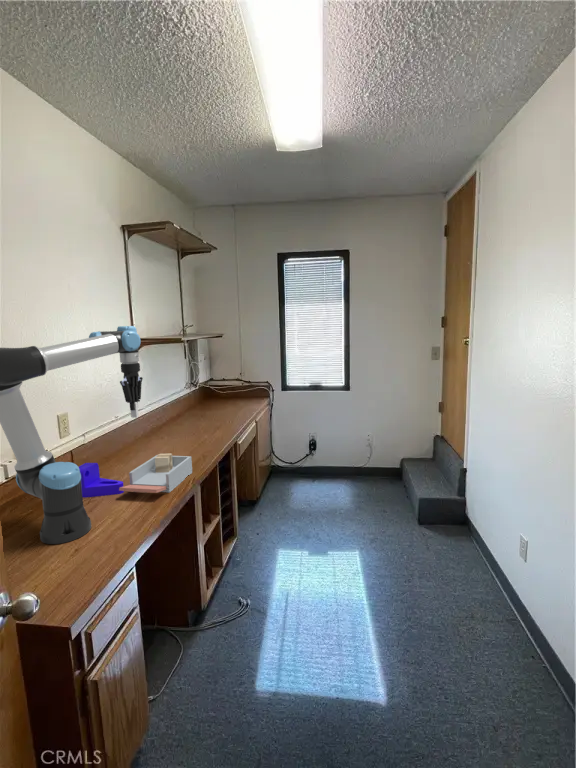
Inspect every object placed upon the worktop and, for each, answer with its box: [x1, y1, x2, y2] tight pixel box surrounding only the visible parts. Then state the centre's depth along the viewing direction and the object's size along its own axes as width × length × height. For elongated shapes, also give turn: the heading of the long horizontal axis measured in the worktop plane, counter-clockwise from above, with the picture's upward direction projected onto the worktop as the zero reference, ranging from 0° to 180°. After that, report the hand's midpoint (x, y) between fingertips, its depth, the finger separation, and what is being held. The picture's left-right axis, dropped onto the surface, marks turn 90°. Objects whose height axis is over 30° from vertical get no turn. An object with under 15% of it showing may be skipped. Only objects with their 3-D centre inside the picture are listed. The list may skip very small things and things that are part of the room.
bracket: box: [78, 462, 125, 499], centre depth 163 cm, size 18×11×12 cm, turn 85°
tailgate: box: [119, 484, 166, 494], centre depth 158 cm, size 8×16×2 cm, turn 80°
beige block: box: [155, 453, 173, 473], centre depth 179 cm, size 6×6×7 cm
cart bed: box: [128, 454, 193, 493], centre depth 173 cm, size 24×19×8 cm
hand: (134, 417), depth 166 cm, fingers closed
